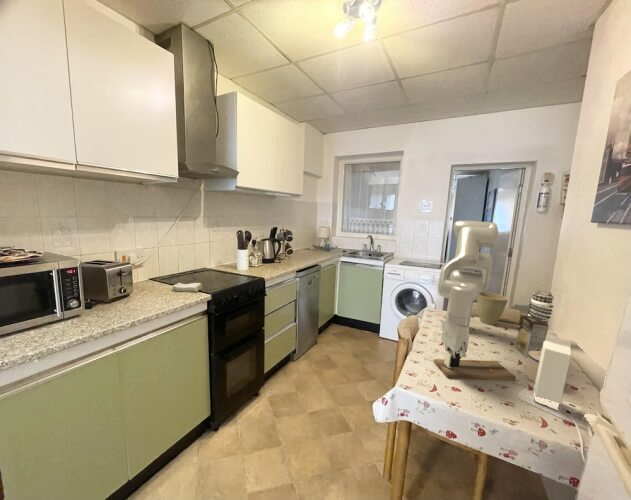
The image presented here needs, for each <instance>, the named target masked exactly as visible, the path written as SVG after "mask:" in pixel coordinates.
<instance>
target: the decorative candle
mask: <svg viewBox="0 0 631 500" xmlns="http://www.w3.org/2000/svg"><path fill="white" fill-rule="evenodd" d="M554 298H555V296H553V295H552V293H551V292H548V291H545V290H536V291H533V292H532V298H531V300H530V301H529V302H528V303H529V304H528V312H527V316H532V317H537V318H539V319H540V320H542V321H543V322H545V323H546V324H548V325H549V321H551V320H550V319H551V316H550V315H552V312H553V309H552V308H554V305H553V301H554V300H553V299H554Z"/></svg>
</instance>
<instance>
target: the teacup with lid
mask: <svg viewBox="0 0 631 500" xmlns="http://www.w3.org/2000/svg"><path fill="white" fill-rule="evenodd" d="M541 351H542V350H541ZM541 351H529V352H528V357H526V358H527V360H526V364H525V369H524V376H525V377H526V378H527V379H528V380H529V381H531V382H533V383H535V381H536V376H537V371H538V366H539V361H540V356H541Z"/></svg>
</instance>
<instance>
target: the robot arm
mask: <svg viewBox="0 0 631 500" xmlns="http://www.w3.org/2000/svg"><path fill="white" fill-rule="evenodd" d="M453 233H454V235H455V237H456V241H457V242H456V247H455V248H456V249H455V255H454V257H453V258H452V259H450V260H449V261H448V262H446V263H445V264H444V265H443V267H442V268H441V271H440V274H439V280H438V283H437V284H438V285H437V293H438V295H439V296H441V297H443V298H446V299H448V302H447V306H446V307H447V308H446V314H445V315H444V316H443V318H444V321H442V322H441V326H442V332H441V337H440V338H441V339H440V340H441V341H442V343H444V346H445V348H444V350H445V351H446V350H452V351H453V357H451V362H450V367H453V368H458V367H459V363H460V360H462V358H466V357H467V353H466V352H467V351H468V347H469V342H470V341H469V340H470V323H471V317H472V311H473V303H474V302H476V301H477V299H478V296H479V292H486V291H487V290H488V289H489V285H490V282H491V281H490V280H491V275H492V269H493V257H492V255H491V254H489V253H486V252H480V249H481V248H488V249H490V248H491V249H493V248H495V247H496V246H497V245H498V242H499V239H500V236H499V228H498V225H497V223H495V222H492V221H480V220H479V221H478V220H456V221H455V222H454V223H453ZM448 275H449V276H448ZM448 277H449V279H448ZM456 352H458V353H457V354H456Z"/></svg>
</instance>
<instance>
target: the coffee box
mask: <svg viewBox="0 0 631 500" xmlns="http://www.w3.org/2000/svg"><path fill="white" fill-rule="evenodd" d="M549 326H550V325H549V323H548V324H546V323H545V322H543V321H542V320H540V319H539V318H537V317H532V316H528V315H521V317H520V321H519V328H518V332H517V337H516V342H515V349H517V350H518V351H519V352H520V353H521V354H522V355H523V356H524V357H525V358H528V352H529V351H541V350H542V347H543V342H544V341H545V339H546V336H548V335H547V334H548V331H549Z"/></svg>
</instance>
